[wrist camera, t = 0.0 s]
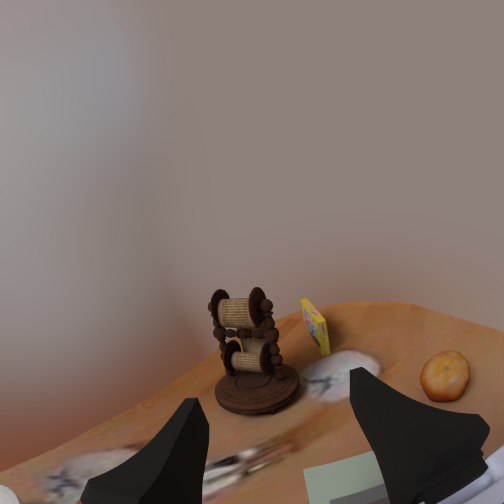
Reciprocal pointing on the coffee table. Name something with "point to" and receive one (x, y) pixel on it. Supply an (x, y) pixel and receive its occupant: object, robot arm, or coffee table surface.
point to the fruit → (445, 376)
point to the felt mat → (342, 478)
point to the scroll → (250, 355)
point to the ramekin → (8, 496)
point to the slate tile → (365, 497)
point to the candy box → (316, 326)
